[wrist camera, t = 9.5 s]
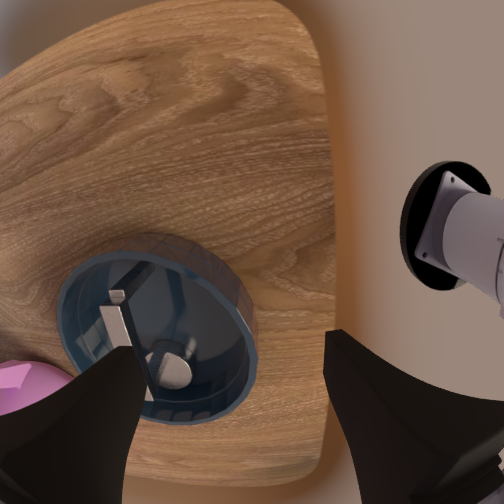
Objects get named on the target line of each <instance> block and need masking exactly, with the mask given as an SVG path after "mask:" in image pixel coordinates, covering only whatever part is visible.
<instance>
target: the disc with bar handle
mask: <svg viewBox="0 0 504 504" xmlns="http://www.w3.org/2000/svg"><path fill="white" fill-rule="evenodd" d="M154 270H155V269H154V264H153V263H151V262H148V261H140V262H138V263H137V264H136V265H135V266H134V267H133V268H132V269H131V270H130V271H129V272H128V273H127V274H126V275H124V276H123V277H122V278H121V279H120V280H119V281H118V282H117V283H116V284H115V285H114V286H113V287H112V288H111V289H110V290H109V295H110V298H107V299H106V300H105V301H104V302H103V303H102V304H101V305H100V307H99V308H100V311H101V314H102V317H103V320H104V323H105V326H106V329H107V332H108V334H109V337H110V340H111V342H112V345H113V348H116V347H118V346H133V349H134V352H135V354H136V357H137V360H138V362H139V365H140V367H141V370H142V373H143V375H144V378H145V380H146V382H147V390H146V396H145V400H146V401H154V399H155V396H156V394H157V391H158V389H157V387H158V385H159V386H161V387H164V388H167V389H181V388H184V387H186V386H187V385H188V384H189V383H190V382H191V380H192V377H193V373H194V369H195V365H196V362H195V358H194V356H193V354H192V353H191V351H190V350H189V349H188V348H187V347H185V346H184V345H182V344H181V343H179V342H176V341H172V340H160V341H157V342H155V343H153V344H152V345H151V346H150V348H149V350H148V352H147V354H146V356H145V354H144V352H143V349H142V346H141V343H140V340H139V337H138V334H137V330H136V327H135V324H134V321H133V317H132V314H131V311H130V307H129V304H128V301H129V299H130V298H131V297H132V296H133V295H134V293H135V292H136V291H137V290H138V289H139V288H140V287H141V285H142V284H143V283H144V282H145V281H146V280H147V278H148V277H149V276H150V275H151V274H152V273H153V272H154Z"/></svg>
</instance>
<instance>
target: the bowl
mask: <svg viewBox="0 0 504 504" xmlns="http://www.w3.org/2000/svg"><path fill="white" fill-rule="evenodd" d="M140 261H148V262H151V263H153V264H154V269H155V270H154V272H153V273H152V274H151V275H150V276H149V277H148V278H147V280H146V281H145V282H144V283H143V284H142V285H141V287H140V288H139V289H138V290H137V291H136V292H135V293H134V295H133V296H132V297H131V298H130V299H129V301H128V304H129V307H130V311H131V314H132V317H133V321H134V324H135V327H136V330H137V334H138V337H139V340H140V343H141V346H142V349H143V352H144V354H145V356H146V354H147V352H148V350H149V348H150V346H151V345H152V344H153V343H155V342H157V341H160V340H172V341H176V342H179V343H181V344H182V345H184V346H185V347H187V348H188V349H189V350H190V351H191V353H192V354H193V356H194V358H195V362H196V365H195V369H194V373H193V377H192V380H191V382H190V383H189V384H188V385H187V386H186V387H184V388H181V389H167V388H164V387H161V386H159V385H158V387H157V389H158V391H157V394H156V396H155V399H154V401H146V400H145V401H144V406H143V409H142V412H141V415H140V418H142V419H145V420H148V421H152V422H157V423H162V424H167V425H196V424H201V423H206V422H211V421H214V420H216V419H218V418H220V417H223V416H225V415H227V414H229V413H231V412H232V411H233V410H234V409H235V408H237V407H238V406H239V405H240V404H241V403H242V402H243V401H244V400H245V399H246V398H247V396H248V394H249V392H250V390H251V388H252V387H253V385H254V383H255V380H256V373H257V364H258V325H257V320H256V315H255V311H254V306H253V303H252V300H251V298H250V296H249V295H248V293H247V291H246V289H245V287H244V286H243V284H242V282H241V280H240V279H239V277H238V276H237V275H236V274H235V273H234V272H233V271H232V270H231V269H230V268H229V267H228V266H227V265H226V264H225V263H224V262H223V261H222V260H221V259H220V258H218V257H217V256H215V255H214V254H212V253H210V252H209V251H207V250H206V249H204V248H203V247H201V246H199V245H198V244H196V243H193V242H190V241H187V240H184V239H181V238H178V237H175V236H172V235H169V234H152V233H141V234H137V235H133V236H129V237H125V238H121V239H119V240H117V241H116V242H114V243H112V244H111V245H109V246H108V247H106V248H104V249H103V250H101V251H100V252H98V253H97V254H95V255H94V256H92V257H91V258H89V259H87V260H86V261H84V262H83V263H81V264H80V265H79V266H77V267H76V268H74V269H73V270H72V272H71V273H70V275H69V276H68V278H67V279H66V280H65V282H64V283H63V285H62V287H61V290H60V294H59V298H58V302H57V306H56V314H57V329H58V332H59V336H60V339H61V342H62V345H63V348H64V350H65V352H66V354H67V356H68V358H69V360H70V361H71V363H72V365H73V367H74V368H75V370H76V371H77V372H78V373H79V374H82V373H83V372H84V371H86V370H87V369H88V368H89V367H91V366H92V365H93V364H95V363H96V362H97V361H98V360H100V359H101V358H102V357H104V356H105V355H106V354H108V353H109V352H110V351H112V350H113V349H114V348H113V345H112V342H111V340H110V337H109V334H108V332H107V329H106V326H105V323H104V320H103V317H102V314H101V311H100V308H99V307H100V305H101V304H102V303H103V302H104V301H105V300H106V299H107V298H110V295H109V290H110V289H111V288H112V287H113V286H114V285H115V284H116V283H117V282H118V281H119V280H120V279H121V278H122V277H123V276H124V275H126V274H127V273H128V272H129V271H130V270H131V269H132V268H133V267H134V266H135V265H136V264H137V263H138V262H140Z"/></svg>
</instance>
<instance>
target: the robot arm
mask: <svg viewBox="0 0 504 504" xmlns="http://www.w3.org/2000/svg"><path fill="white" fill-rule="evenodd" d="M451 177H452V182H451ZM424 252H425V255H424V256H423V257H422V255H423V253H424ZM414 255H415V257H416V258H418V259H420V260H422V261H424V262H427V263H429V264H431V265H433V266H435V267H438V268H440V269H442V270H444V271H446V272H448V273H450V274H452V275H454V276H457V277H459V278H461V279H463V280H465V281H467V282H469V283H471V284H473V285H474V286H475V287H477V288H478V289H480V290H481V291H482V292H484V293H485V294H487V295H488V296H489V297H491V298H492V299H494V300H495V301H496V302H498V303H499V304H500V305H501V310H500V316H501V317H502V318H503V319H504V199H501V198H497V197H493V196H489V195H485V194H480V193H478V192H477V191H475V190H474V189H473V188H472V187H470V186H469V185H468V184H466V183H465V182H464V181H462V180H461V179H460V178H458V177H457V176H455V175H454V174H453V173H451V172H449V171H445V172H444V173H443V175H442V178H441V182H440V185H439V188H438V191H437V194H436V197H435V200H434V203H433V205H432V208H431V211H430V214H429V216H428V219H427V222H426V224H425V227H424V229H423V232H422V234H421V237H420V239H419V242H418V244H417V246H416V249H415V251H414ZM323 375H324V379H325V383H326V387H327V391H328V394H329V397H330V400H331V402H332V405H333V407H334V410H335V412H336V414H337V417H338V419H339V422H340V424H341V427H342V429H343V432H344V434H345V437H346V439H347V442H348V445H349V448H350V451H351V455H352V459H353V463H354V466H355V471H356V475H357V479H358V484H359V489H360V495H361V500H362V504H504V469H503V470H502V471H501V470H500V468H499V467H498V465H499V464H500V463H501V462H502V460H501V458H500V457H499V455H498V454H499V452H500V451H501V450H502V449H503V448H504V401H497V400H488V399H480V398H475V397H470V396H466V395H461V394H458V393H454V392H450V391H447V390H445V389H442V388H439V387H436V386H433V385H431V384H428V383H426V382H424V381H421V380H419V379H417V378H415V377H413V376H411V375H409V374H407V373H405V372H403V371H401V370H400V369H398V368H396V367H394V366H393V365H391V364H390V363H388V362H386V361H385V360H383V359H382V358H380V357H379V356H377V355H376V354H374V353H373V352H372V351H370V350H369V349H367V348H366V347H365V346H363V345H362V344H361V343H359V342H358V341H356V340H355V339H354V338H353V337H351V336H350V335H349V334H347V333H346V332H345V331H343V330H342V329H340V330H333V331H327V332H325V352H324V367H323ZM146 390H147V382H146V380H145V378H144V375H143V373H142V370H141V367H140V365H139V362H138V360H137V357H136V354H135V352H134V349H133V346H118V347H116V348H114V349H113V350H112V351H110V352H109V353H108V354H106V355H105V356H104V357H102V358H101V359H100V360H98V361H97V362H96V363H95V364H93V365H92V366H91V367H89V368H88V369H87V370H86V371H84V372H83V373H82V374H80V375H79V376H77V377H76V378H75V379H73V380H72V381H70V382H69V383H68V384H66V385H65V386H63V387H62V388H60V389H59V390H57V391H55V392H54V393H52V394H50V395H49V396H47V397H45V398H43V399H41V400H39V401H37V402H35V403H33V404H31V405H28V406H26V407H24V408H22V409H19V410H16V411H13V412H11V413H7V414H4V415H1V416H0V504H122V488H123V480H124V473H125V466H126V460H127V456H128V452H129V448H130V445H131V442H132V439H133V436H134V433H135V430H136V427H137V424H138V421H139V418H140V415H141V412H142V409H143V406H144V401H145V396H146Z"/></svg>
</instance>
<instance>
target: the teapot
mask: <svg viewBox="0 0 504 504" xmlns="http://www.w3.org/2000/svg"><path fill="white" fill-rule="evenodd" d="M73 379H75V378H74V377H72V376H71V375H69V374H68V373H66V372H64V371H63V370H61V369H59V368H57V367H55V366H53V365H50V364H47V363H42V362H36V361H17V360H10V361H6V362H3V363H0V389H1V390H0V416H1V415H4V414H7V413H11V412H13V411H16V410H19V409H22V408H24V407H26V406H28V405H31V404H33V403H35V402H37V401H39V400H41V399H43V398H45V397H47V396H49V395H50V394H52V393H54V392H55V391H57V390H59V389H60V388H62V387H63V386H65V385H66V384H68V383H69V382H70V381H72V380H73Z"/></svg>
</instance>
